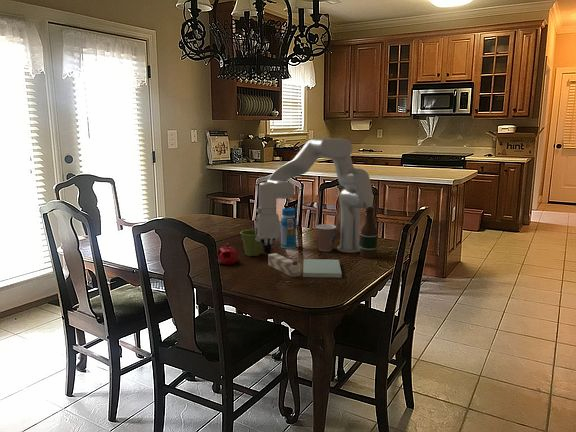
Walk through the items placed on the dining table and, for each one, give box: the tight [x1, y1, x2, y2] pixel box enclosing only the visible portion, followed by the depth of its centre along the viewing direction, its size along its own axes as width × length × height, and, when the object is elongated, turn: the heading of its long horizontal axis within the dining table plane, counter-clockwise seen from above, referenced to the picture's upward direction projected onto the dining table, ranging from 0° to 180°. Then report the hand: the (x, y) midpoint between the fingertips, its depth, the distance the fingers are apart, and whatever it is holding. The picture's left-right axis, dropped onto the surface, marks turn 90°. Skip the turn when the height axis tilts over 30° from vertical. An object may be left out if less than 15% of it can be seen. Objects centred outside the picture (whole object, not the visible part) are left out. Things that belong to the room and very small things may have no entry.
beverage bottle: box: [280, 207, 298, 250], centre depth 243 cm, size 8×8×20 cm
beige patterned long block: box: [267, 252, 302, 278], centre depth 206 cm, size 20×4×6 cm, turn 33°
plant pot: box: [239, 229, 263, 257], centre depth 230 cm, size 12×12×11 cm
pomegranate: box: [216, 243, 239, 266], centre depth 217 cm, size 10×10×9 cm
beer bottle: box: [359, 206, 378, 260], centre depth 226 cm, size 8×8×24 cm
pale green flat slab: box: [302, 258, 343, 279], centre depth 207 cm, size 20×16×2 cm
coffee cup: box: [315, 223, 337, 252], centre depth 240 cm, size 10×10×12 cm
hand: (267, 253), depth 204 cm, fingers closed
